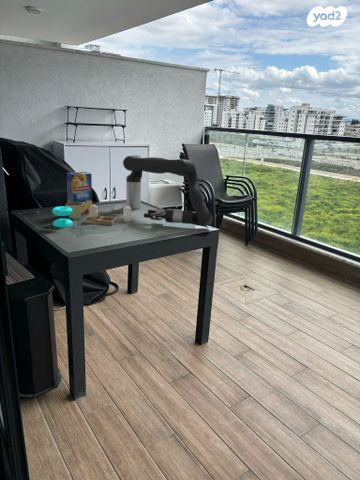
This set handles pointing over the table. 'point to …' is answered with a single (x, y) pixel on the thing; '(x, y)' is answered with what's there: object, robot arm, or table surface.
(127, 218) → the cream egg
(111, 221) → the egg holder
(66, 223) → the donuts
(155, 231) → the table surface
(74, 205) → the flower pot
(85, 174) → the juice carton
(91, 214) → the brown egg
